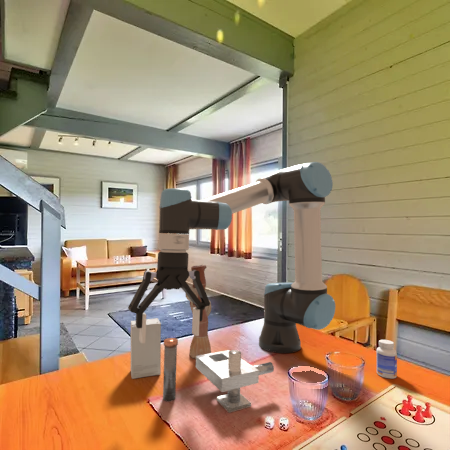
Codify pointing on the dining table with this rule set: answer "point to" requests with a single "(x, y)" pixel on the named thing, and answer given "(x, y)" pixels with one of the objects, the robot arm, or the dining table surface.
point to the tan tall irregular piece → (201, 342)
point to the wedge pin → (170, 369)
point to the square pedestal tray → (231, 376)
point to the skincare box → (146, 350)
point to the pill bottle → (386, 359)
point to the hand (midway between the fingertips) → (169, 337)
